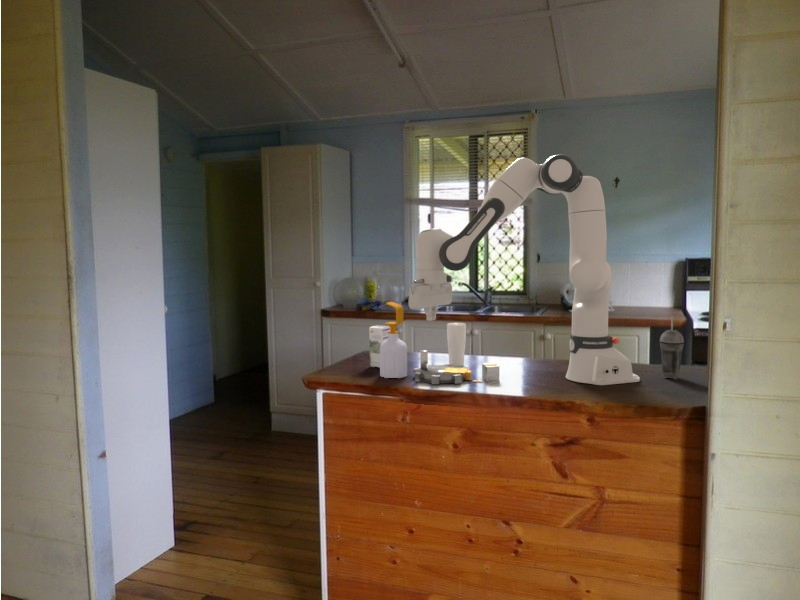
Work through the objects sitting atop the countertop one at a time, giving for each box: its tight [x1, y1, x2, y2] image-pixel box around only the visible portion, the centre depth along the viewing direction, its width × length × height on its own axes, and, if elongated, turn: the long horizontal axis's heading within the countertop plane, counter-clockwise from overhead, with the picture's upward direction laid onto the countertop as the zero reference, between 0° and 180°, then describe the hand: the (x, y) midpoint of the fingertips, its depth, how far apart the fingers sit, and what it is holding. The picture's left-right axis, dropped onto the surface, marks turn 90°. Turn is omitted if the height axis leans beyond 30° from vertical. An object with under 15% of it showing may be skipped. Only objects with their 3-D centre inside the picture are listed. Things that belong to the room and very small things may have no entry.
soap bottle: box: [379, 301, 408, 379], centre depth 203 cm, size 9×9×25 cm
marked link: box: [481, 362, 500, 383], centre depth 197 cm, size 4×6×5 cm, turn 7°
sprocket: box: [412, 349, 473, 385], centre depth 199 cm, size 19×19×8 cm
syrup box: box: [368, 325, 391, 369], centre depth 219 cm, size 6×6×14 cm
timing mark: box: [471, 379, 484, 383], centre depth 194 cm, size 3×1×1 cm, turn 67°
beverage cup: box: [659, 314, 685, 379], centre depth 196 cm, size 7×7×20 cm
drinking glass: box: [446, 322, 467, 367], centre depth 219 cm, size 7×7×15 cm
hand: (431, 320), depth 202 cm, fingers closed
